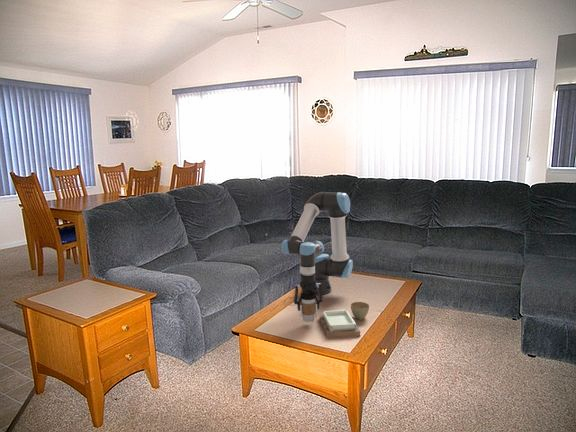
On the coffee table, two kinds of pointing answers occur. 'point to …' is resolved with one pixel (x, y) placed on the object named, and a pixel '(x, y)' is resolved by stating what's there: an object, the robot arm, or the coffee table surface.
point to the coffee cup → (308, 306)
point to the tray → (339, 320)
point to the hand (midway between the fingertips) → (308, 315)
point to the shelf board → (338, 333)
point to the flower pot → (359, 309)
